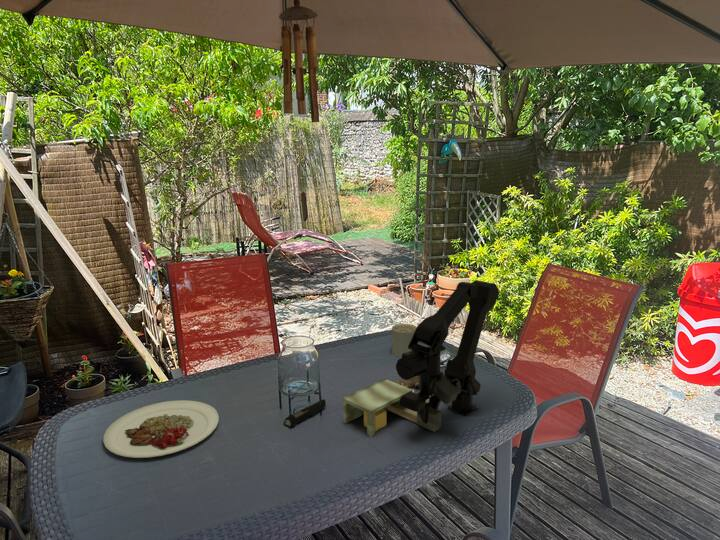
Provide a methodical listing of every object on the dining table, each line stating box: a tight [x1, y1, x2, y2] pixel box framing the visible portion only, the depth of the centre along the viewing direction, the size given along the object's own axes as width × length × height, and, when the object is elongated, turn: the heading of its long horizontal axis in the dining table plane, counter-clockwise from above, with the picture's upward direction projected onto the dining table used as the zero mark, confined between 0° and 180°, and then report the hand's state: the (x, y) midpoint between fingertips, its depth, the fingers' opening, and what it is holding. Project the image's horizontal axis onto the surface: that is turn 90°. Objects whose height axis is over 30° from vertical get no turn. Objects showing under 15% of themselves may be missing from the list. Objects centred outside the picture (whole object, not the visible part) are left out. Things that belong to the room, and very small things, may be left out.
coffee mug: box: [391, 323, 417, 358], centre depth 195 cm, size 13×10×10 cm
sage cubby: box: [342, 378, 414, 437], centre depth 146 cm, size 18×11×8 cm, turn 135°
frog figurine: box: [395, 376, 419, 393], centre depth 165 cm, size 12×12×4 cm
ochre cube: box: [363, 409, 387, 432], centre depth 142 cm, size 4×4×4 cm
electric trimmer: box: [283, 398, 327, 429], centre depth 148 cm, size 4×15×3 cm, turn 140°
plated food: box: [102, 399, 220, 459], centre depth 141 cm, size 30×30×3 cm
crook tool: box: [383, 403, 442, 433], centre depth 144 cm, size 8×20×5 cm, turn 45°
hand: (428, 420), depth 141 cm, fingers closed on crook tool, 3 cm apart
